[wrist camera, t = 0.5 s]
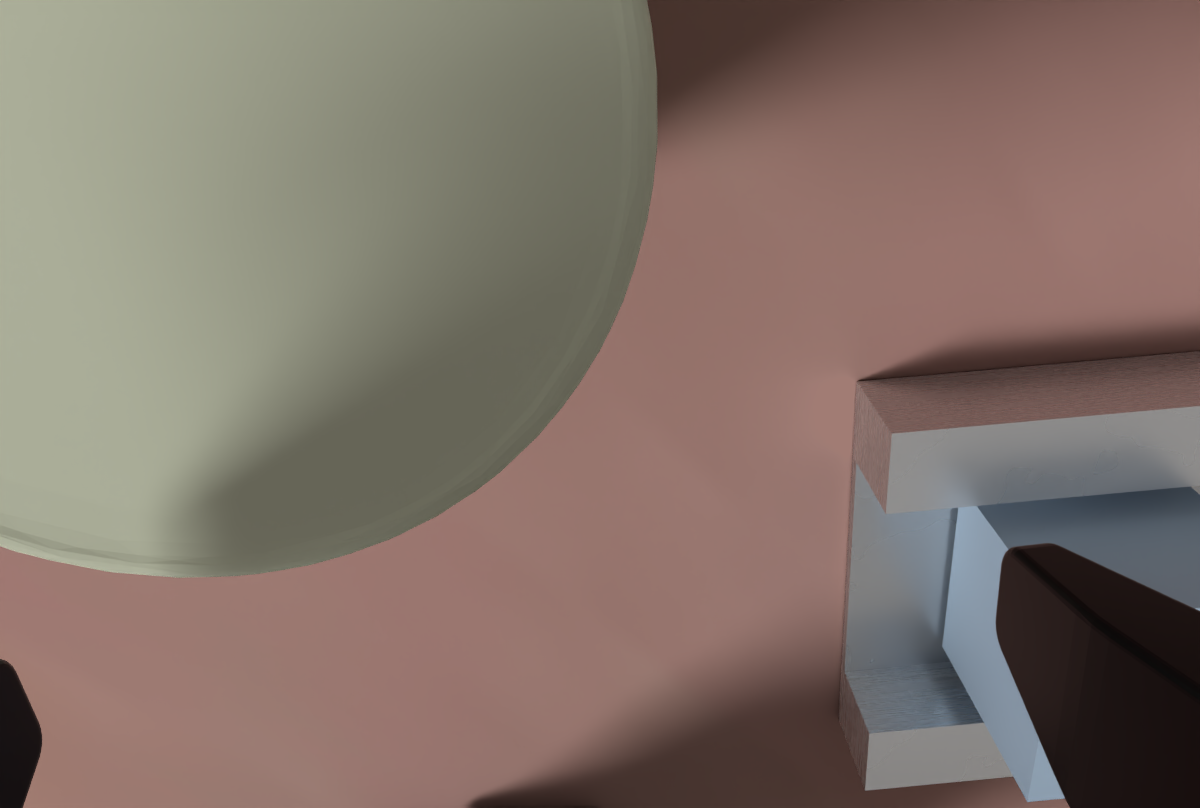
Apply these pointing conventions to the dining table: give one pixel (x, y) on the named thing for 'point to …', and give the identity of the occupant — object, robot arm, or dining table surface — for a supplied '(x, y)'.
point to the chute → (973, 478)
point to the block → (1088, 528)
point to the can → (300, 262)
